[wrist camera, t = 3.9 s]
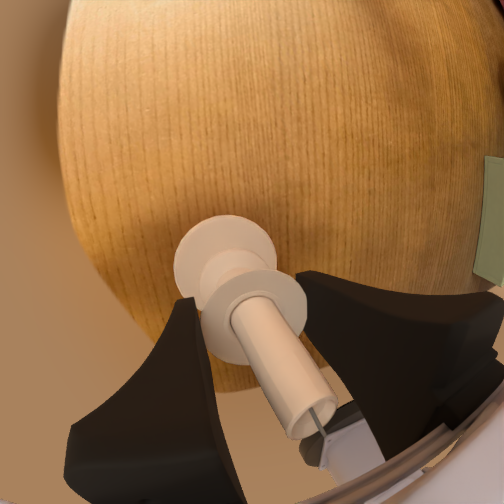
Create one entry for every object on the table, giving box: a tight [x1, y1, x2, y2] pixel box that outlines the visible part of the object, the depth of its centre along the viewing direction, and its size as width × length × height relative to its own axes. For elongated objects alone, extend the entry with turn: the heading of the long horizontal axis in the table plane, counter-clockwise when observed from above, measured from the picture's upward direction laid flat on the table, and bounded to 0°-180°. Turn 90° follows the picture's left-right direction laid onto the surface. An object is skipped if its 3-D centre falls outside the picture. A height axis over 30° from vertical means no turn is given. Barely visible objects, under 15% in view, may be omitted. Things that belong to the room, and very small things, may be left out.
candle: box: [173, 215, 338, 440], centre depth 10 cm, size 5×5×10 cm
